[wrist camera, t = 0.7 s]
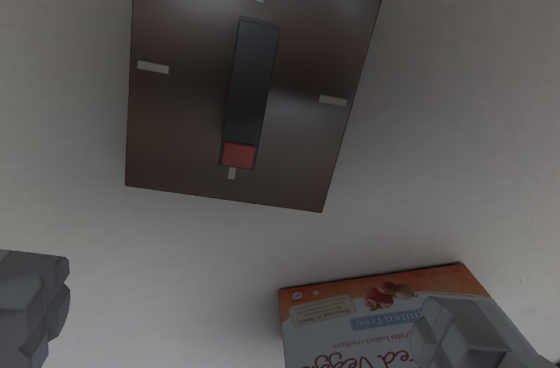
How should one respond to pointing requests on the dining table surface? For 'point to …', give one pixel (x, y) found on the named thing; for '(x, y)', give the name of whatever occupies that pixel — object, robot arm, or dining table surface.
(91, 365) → the dining table surface
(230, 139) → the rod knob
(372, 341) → the cracker box
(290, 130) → the panel
